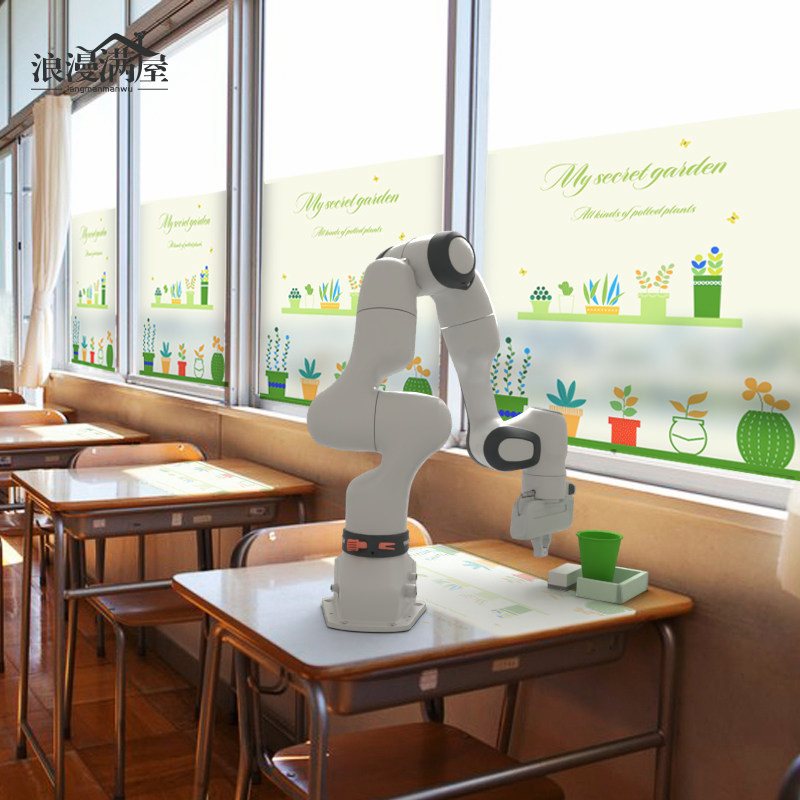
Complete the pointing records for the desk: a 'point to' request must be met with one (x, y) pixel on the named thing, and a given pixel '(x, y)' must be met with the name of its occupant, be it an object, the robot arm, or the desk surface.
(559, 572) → the eraser
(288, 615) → the desk surface
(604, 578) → the cup
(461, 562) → the desk surface
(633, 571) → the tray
